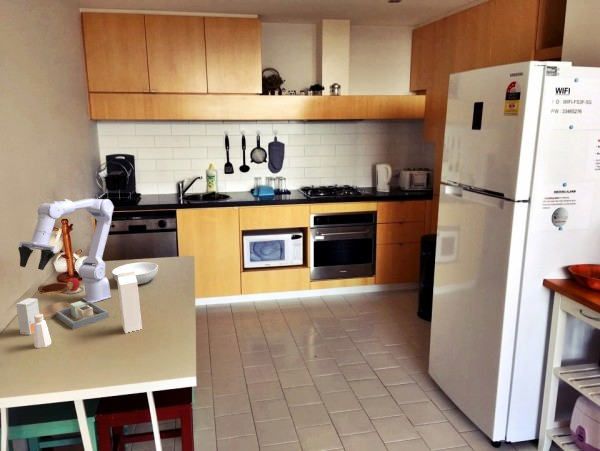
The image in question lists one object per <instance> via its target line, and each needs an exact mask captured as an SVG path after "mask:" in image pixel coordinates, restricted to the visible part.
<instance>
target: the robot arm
mask: <svg viewBox="0 0 600 451" xmlns="http://www.w3.org/2000/svg"><path fill="white" fill-rule="evenodd" d="M114 208H115V206H114V204H113V202H112V201H111V200H110V199H108V198H105V199H102V198H101V199H100V198H84V199H80V200H75V201H72V200H71V199H68V198H63V199H62V200H60V201H59V200H58V201H57V200H52V202H51V203H49V202H44V203H41V205H40V206H39V207H37V214H38V215H37V222H36V226H35V228H34V232H33V234H32V237H31V241H22V240H21V241H20V242H19V244H18V247H17V249H18V253H19V267H22V268H26V266H27V264H28V261H29V259H30V256H31V255H32V253H33V252H34V250H39V251H40V258H39V263H38V266H37V269H38V270H41V271H44V270H45V268H46V266H47V265H48V263H49V262H50V261H51V259H53V258H54V257H55V255H56V253H57V252H58V246H55V245H49V242H50V239H51V235H52V233H53V229H54V226H55V224H56V223H55V222H56V220H57V219H59V218H60V217H62V216H67V215H72V214H73V213H74V212H75V211H76V210H82V209H83V210H84V209H85V210H86V211H87V212H88V213H89V214H90V215H91V216H92V217H93V218H94V219H95V220H96V224H95V225H96V226H95V229H94V232H93V233H94V234H93V237H92V241H91V245H90V248H89V253H88V256H87V257H85V258H83V260H82V261H81V262H82V263H81V265H80V266H79V268H78V276H79V277H80V278H82V281H83V284H84V285H83V286H84V291H85V292H84V293H85V297H83V298H82V300H84V301H85V302H86V303H87V302H92V303H94V304H95V303H96V302H97V303H98V302H100V301H104V300H107V299H110V298H112V296H111V289H110V282H109V279H108V278H107V277H106V276H105V275H106V265H107V264H106V263H105V261H104V260H103V257H104V256H103V255H104V251H105V247H106V243H107V240H108V236H109V232H110V227H111V224H112V216H113V212H114Z"/></svg>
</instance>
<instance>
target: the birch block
mask: <svg viewBox="0 0 600 451" xmlns="http://www.w3.org/2000/svg"><path fill="white" fill-rule="evenodd" d="M77 309H78V317H79V318H78V320H81V319H84V318H87V317H91V316H94V310H93V308H92V307H90V306H88V305H87V306H83V307H80V308H77Z"/></svg>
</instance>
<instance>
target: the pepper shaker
mask: <svg viewBox="0 0 600 451" xmlns="http://www.w3.org/2000/svg"><path fill="white" fill-rule="evenodd" d="M34 318H35V322H34V333H33V344H34V348H37V349H42V348H46V347H49V346H51V344H52V338H51V335H50V332H49V328H48V325H47V322H46V321H47V320H44V318H43V314H37V315H35V316H34Z"/></svg>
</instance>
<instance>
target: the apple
mask: <svg viewBox="0 0 600 451" xmlns="http://www.w3.org/2000/svg"><path fill="white" fill-rule="evenodd" d="M65 285H66V288H67V289H65V290H64V293H65V294H75V293H80V292H82V291H83V290H85V287H83V286H80V285H81V284H80V280H79V279H78V278H76V277H70V278H68V279H66V283H65Z"/></svg>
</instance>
